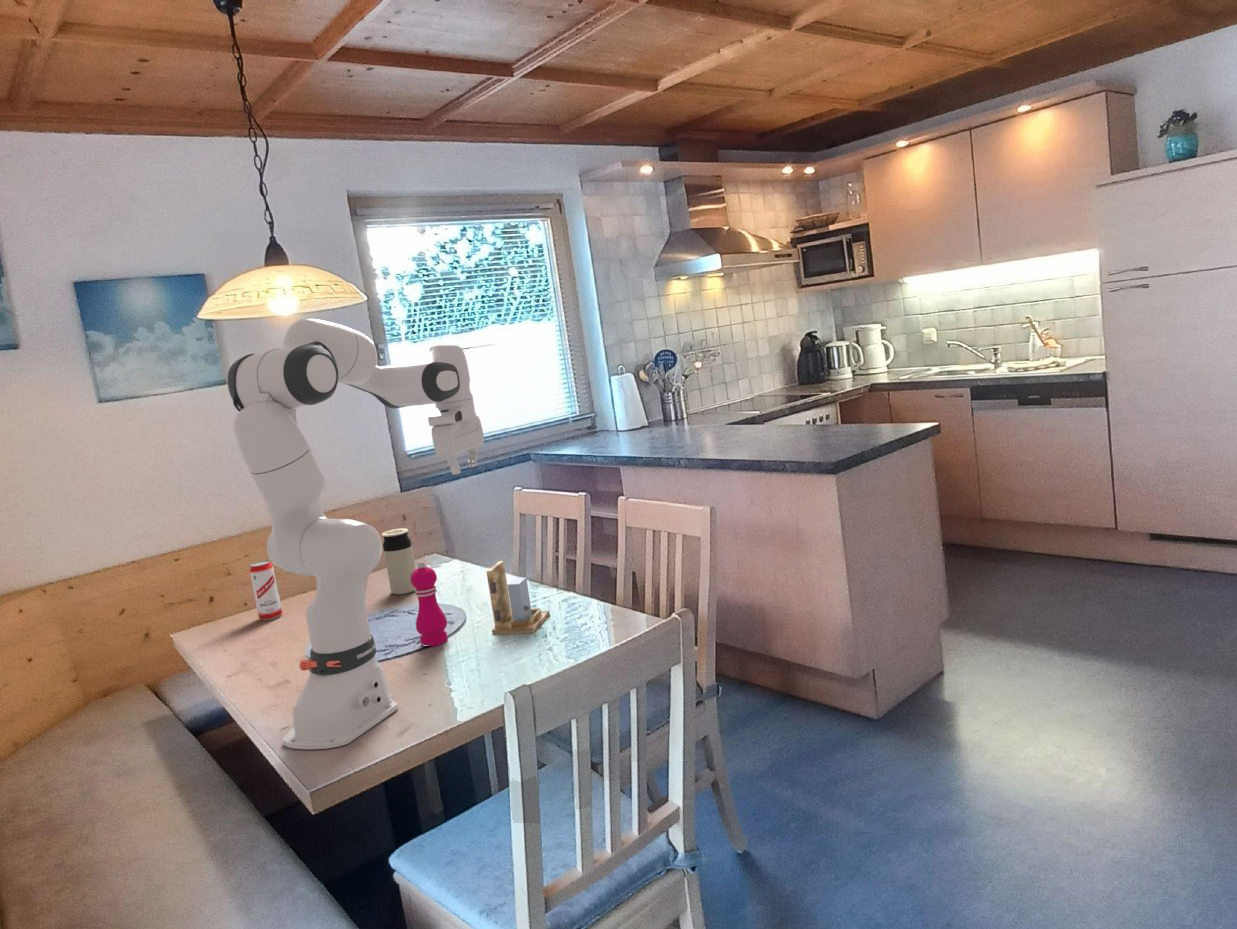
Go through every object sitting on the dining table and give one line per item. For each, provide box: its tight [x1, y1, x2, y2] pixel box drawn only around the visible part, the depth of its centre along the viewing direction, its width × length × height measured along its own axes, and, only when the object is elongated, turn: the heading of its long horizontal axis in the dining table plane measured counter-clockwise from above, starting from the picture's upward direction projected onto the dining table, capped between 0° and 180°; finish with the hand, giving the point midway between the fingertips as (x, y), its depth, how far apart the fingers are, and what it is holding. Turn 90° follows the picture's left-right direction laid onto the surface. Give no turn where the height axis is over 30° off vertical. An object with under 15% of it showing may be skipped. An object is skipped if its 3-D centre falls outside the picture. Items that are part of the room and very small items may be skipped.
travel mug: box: [381, 527, 417, 596], centre depth 243 cm, size 8×8×18 cm
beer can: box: [249, 560, 283, 622], centre depth 234 cm, size 6×6×16 cm
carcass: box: [486, 560, 550, 635], centre depth 201 cm, size 12×10×15 cm
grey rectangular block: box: [507, 577, 532, 621], centre depth 201 cm, size 5×4×10 cm
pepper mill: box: [411, 560, 448, 647], centre depth 196 cm, size 7×7×20 cm
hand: (464, 470), depth 199 cm, fingers open, 8 cm apart
